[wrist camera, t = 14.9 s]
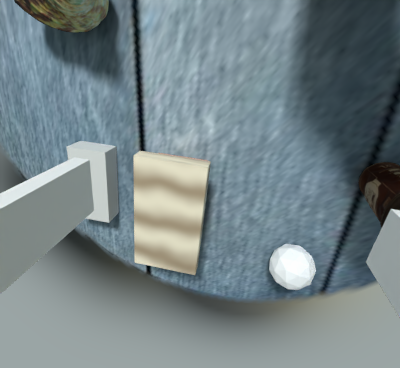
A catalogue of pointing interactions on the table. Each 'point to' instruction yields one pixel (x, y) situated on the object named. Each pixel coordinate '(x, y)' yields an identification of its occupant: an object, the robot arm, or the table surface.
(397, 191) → the coffee cup
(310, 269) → the geometric ball
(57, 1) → the seashell
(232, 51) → the table surface
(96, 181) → the rubber block
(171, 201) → the board
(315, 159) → the table surface
